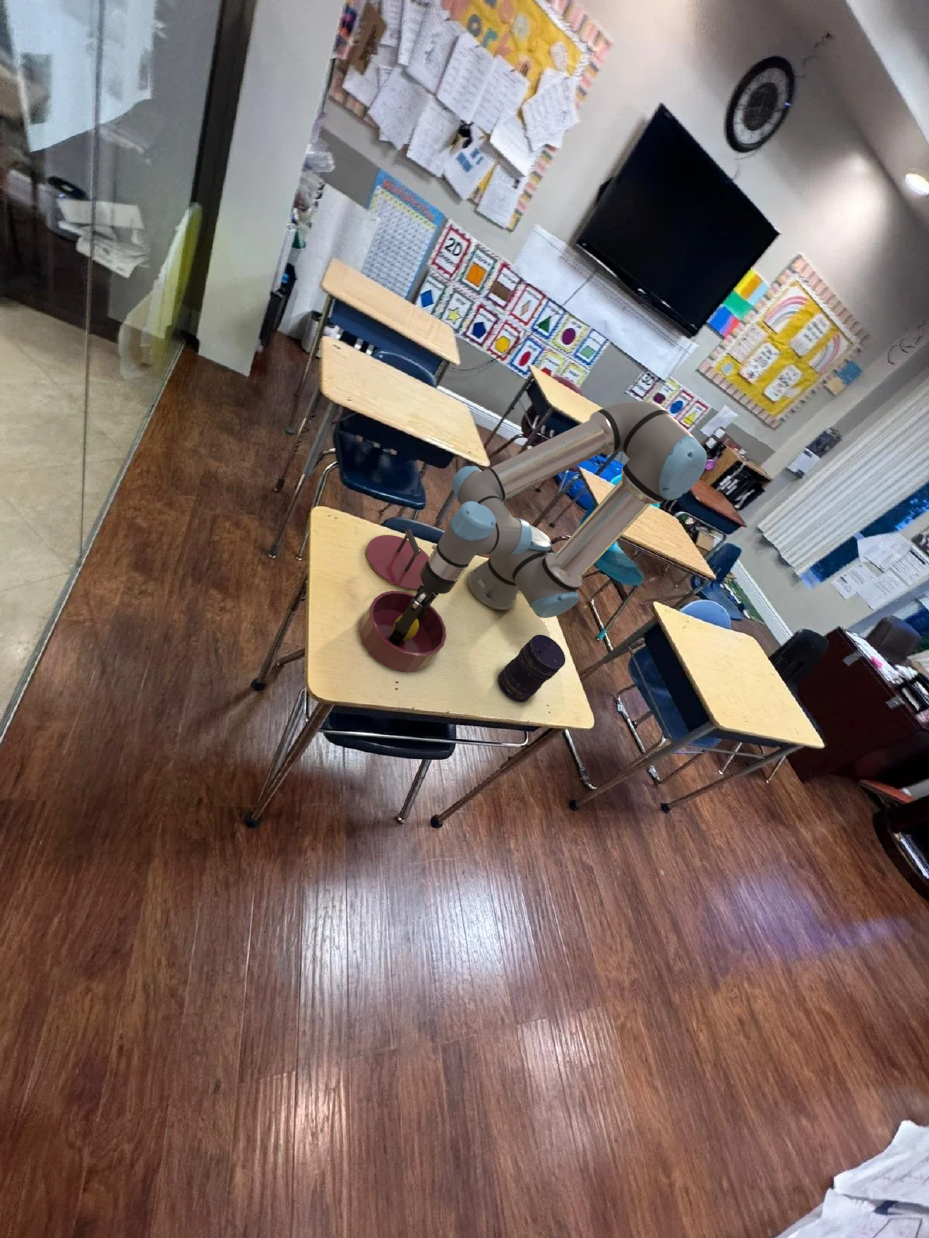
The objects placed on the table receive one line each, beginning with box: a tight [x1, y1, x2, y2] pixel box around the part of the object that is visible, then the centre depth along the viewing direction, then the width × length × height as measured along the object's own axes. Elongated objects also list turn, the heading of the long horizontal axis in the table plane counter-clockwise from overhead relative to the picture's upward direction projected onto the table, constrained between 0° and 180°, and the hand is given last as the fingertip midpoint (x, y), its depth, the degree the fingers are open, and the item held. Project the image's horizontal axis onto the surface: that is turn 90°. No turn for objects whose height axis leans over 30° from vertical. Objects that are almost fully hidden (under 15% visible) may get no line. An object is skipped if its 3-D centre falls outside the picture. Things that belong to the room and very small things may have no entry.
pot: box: [359, 590, 447, 673], centre depth 118 cm, size 19×19×6 cm
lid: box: [366, 528, 430, 591], centre depth 135 cm, size 20×20×9 cm
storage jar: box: [497, 634, 566, 703], centre depth 124 cm, size 10×10×15 cm
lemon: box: [393, 614, 419, 641], centre depth 117 cm, size 6×6×8 cm
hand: (399, 636), depth 119 cm, fingers closed on lemon, 5 cm apart
